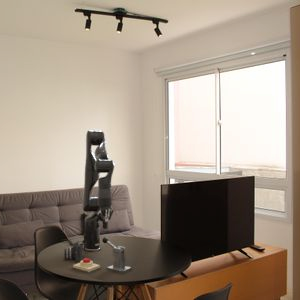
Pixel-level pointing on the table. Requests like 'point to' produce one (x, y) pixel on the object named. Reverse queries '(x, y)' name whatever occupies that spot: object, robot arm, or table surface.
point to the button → (86, 260)
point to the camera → (74, 251)
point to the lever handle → (105, 240)
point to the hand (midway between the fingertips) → (105, 228)
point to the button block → (86, 266)
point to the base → (119, 260)
